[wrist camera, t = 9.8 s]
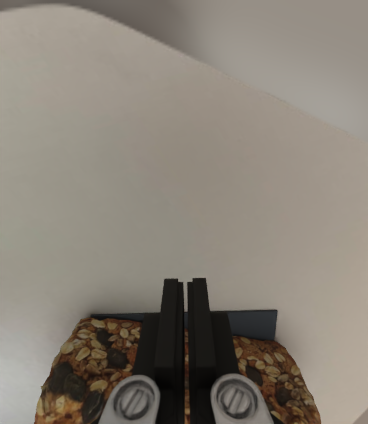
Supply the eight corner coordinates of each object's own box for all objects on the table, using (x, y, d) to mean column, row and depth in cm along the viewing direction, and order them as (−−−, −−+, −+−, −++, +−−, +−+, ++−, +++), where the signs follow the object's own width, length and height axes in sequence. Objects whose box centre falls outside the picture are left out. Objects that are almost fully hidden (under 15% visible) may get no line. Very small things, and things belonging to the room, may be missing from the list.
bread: (71, 391, 26) (8, 548, 16) (80, 302, 22) (6, 437, 13) (256, 417, 27) (295, 575, 18) (291, 336, 24) (363, 481, 14)
